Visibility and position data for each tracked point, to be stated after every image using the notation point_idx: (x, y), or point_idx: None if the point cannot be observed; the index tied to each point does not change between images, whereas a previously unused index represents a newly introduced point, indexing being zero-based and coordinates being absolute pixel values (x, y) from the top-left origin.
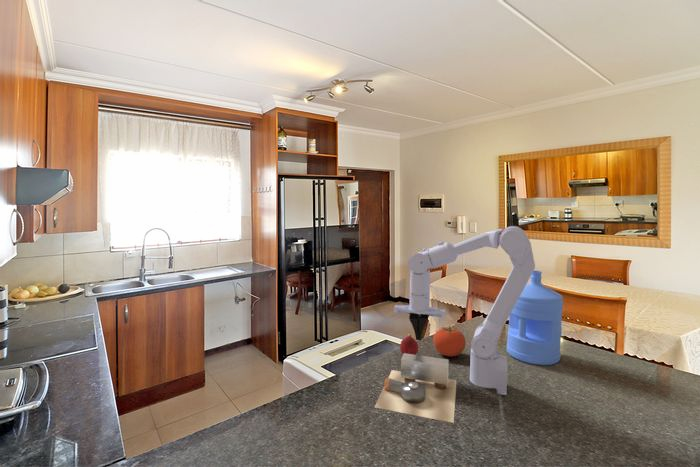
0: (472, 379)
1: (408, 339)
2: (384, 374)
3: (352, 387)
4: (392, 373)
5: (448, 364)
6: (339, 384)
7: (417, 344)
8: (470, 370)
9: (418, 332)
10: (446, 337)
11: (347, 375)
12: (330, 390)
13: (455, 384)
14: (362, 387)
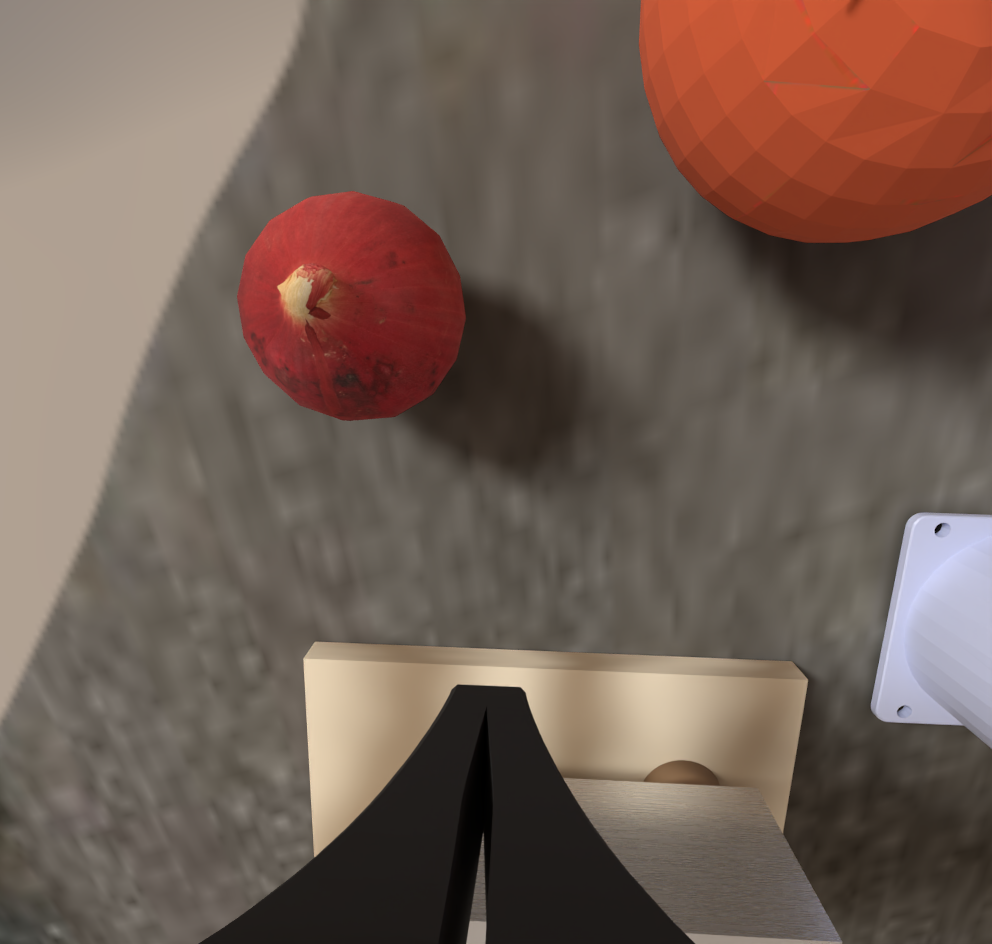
0: (945, 704)
1: (319, 364)
2: (265, 659)
3: (132, 863)
4: (322, 710)
5: (813, 891)
6: (43, 852)
7: (449, 311)
8: (981, 705)
9: (476, 827)
10: (890, 156)
11: (32, 740)
12: (30, 920)
13: (792, 740)
14: (188, 849)
